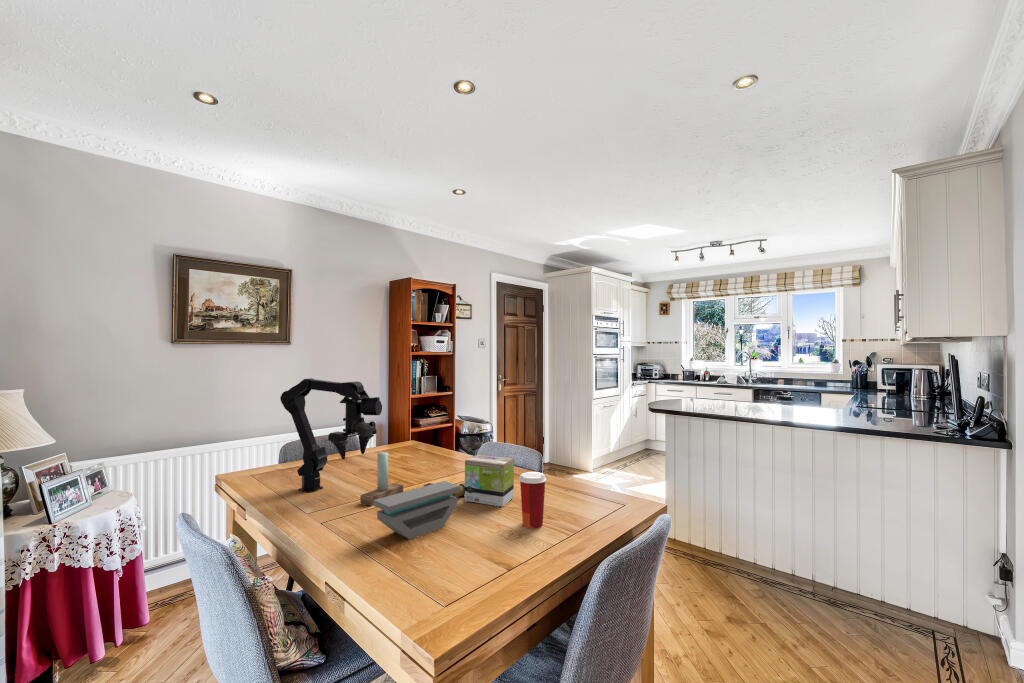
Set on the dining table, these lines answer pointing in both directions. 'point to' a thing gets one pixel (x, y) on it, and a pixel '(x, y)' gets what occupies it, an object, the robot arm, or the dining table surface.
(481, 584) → the dining table surface
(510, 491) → the tea box
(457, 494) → the gavel
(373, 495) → the brown wooden block
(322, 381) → the robot arm
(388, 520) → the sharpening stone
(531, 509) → the coffee cup
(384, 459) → the post
